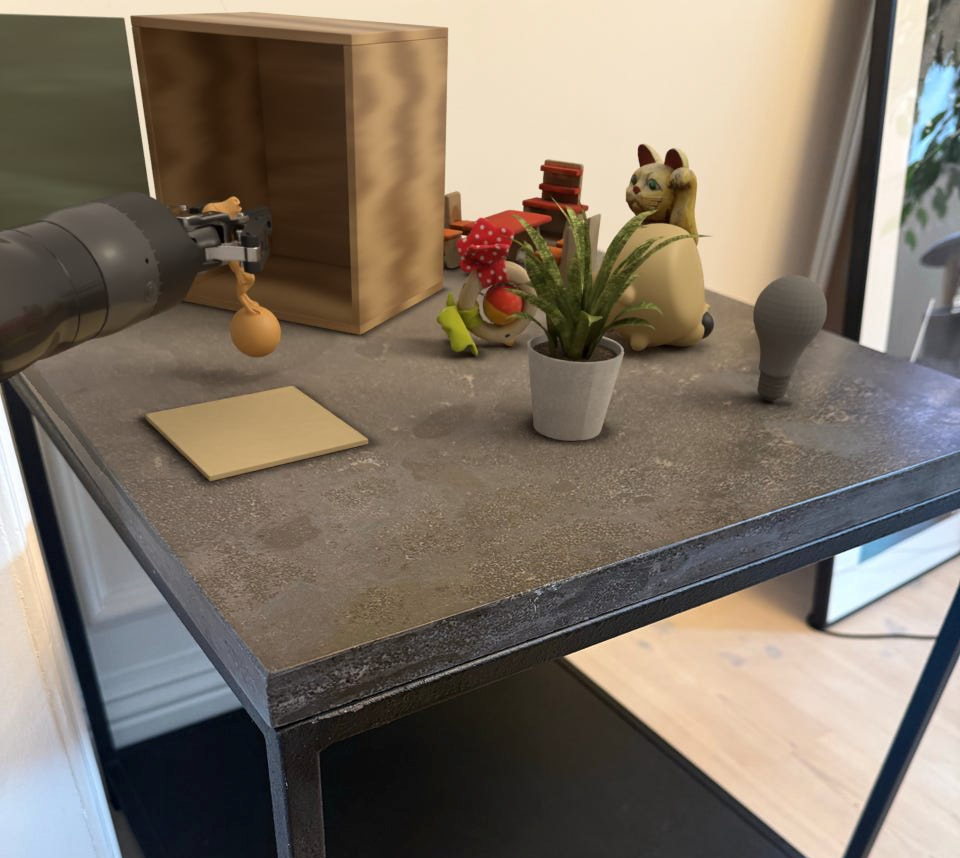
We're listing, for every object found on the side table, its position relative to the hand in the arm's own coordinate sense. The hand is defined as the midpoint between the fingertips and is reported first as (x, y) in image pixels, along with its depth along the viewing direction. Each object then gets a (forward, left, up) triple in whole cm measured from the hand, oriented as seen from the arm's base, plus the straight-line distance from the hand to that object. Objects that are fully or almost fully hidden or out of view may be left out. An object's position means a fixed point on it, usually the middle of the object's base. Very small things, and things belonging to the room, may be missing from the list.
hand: (243, 217), depth 73 cm
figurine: (+1, -3, -10) cm, 10 cm away
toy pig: (+28, +24, -12) cm, 38 cm away
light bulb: (+41, +15, -12) cm, 45 cm away
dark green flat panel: (-28, +5, -12) cm, 31 cm away
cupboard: (-7, +21, -12) cm, 25 cm away
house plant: (+29, +2, -12) cm, 31 cm away
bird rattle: (+15, +15, -12) cm, 24 cm away
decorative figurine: (+25, +38, -12) cm, 46 cm away
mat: (+8, -11, -12) cm, 18 cm away
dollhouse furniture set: (+7, +45, -12) cm, 47 cm away
